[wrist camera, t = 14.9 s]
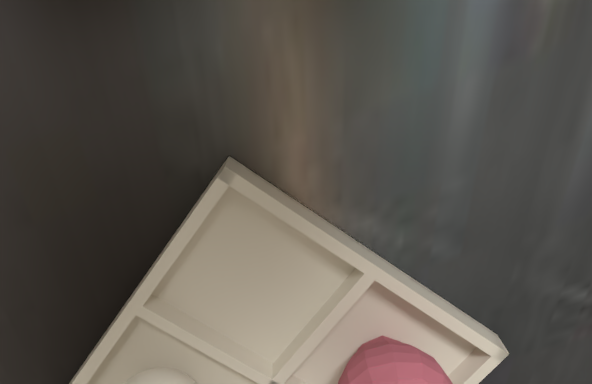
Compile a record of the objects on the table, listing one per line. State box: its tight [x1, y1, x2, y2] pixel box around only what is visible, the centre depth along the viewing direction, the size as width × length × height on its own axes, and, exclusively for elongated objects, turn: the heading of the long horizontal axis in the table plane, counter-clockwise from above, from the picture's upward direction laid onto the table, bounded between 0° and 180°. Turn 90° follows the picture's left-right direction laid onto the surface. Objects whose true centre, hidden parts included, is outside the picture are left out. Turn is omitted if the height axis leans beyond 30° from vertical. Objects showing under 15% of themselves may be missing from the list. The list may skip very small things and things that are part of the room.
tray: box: [69, 156, 509, 384], centre depth 42 cm, size 27×27×2 cm
